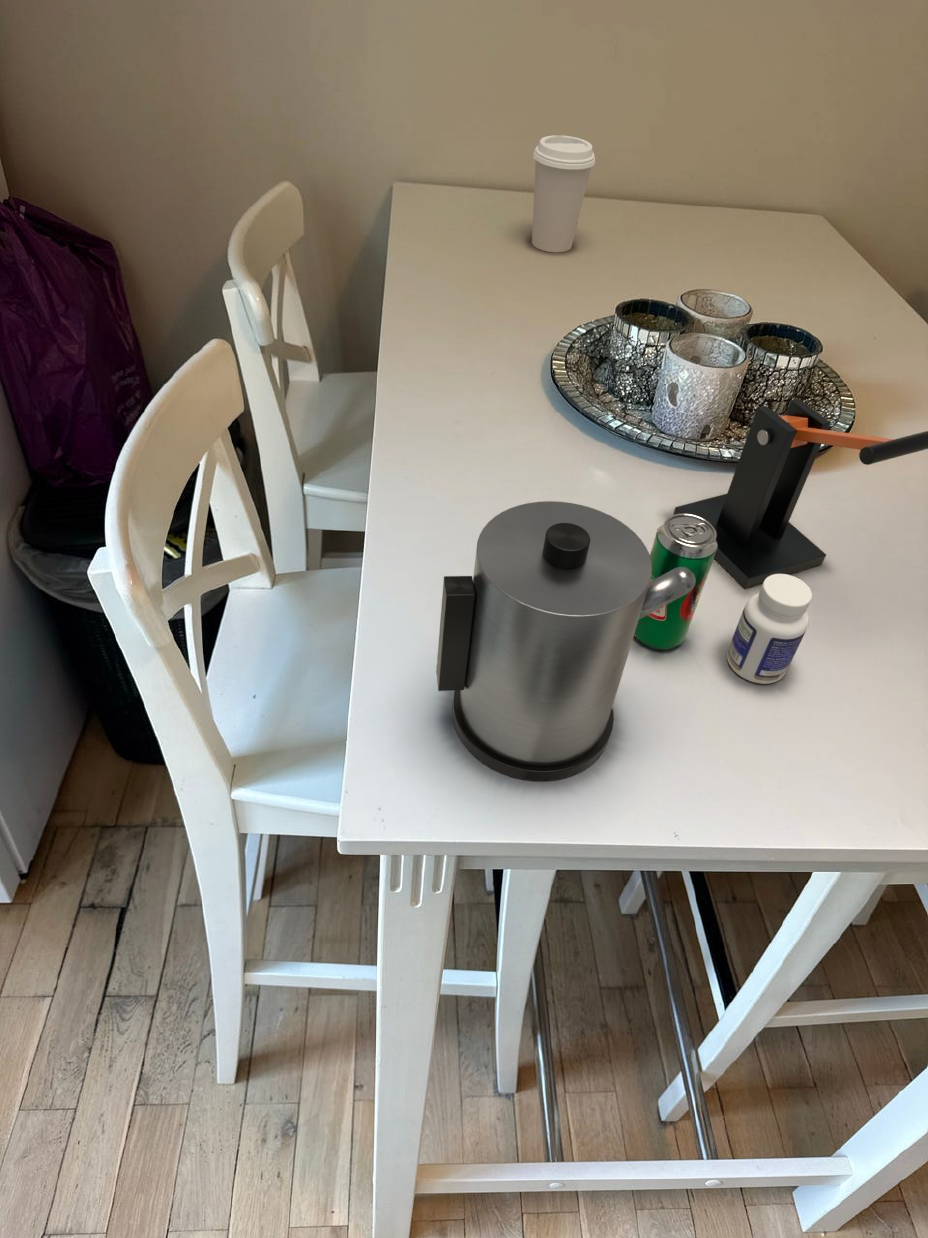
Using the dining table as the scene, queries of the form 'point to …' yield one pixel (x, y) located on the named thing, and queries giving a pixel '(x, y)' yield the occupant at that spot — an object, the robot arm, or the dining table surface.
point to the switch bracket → (764, 501)
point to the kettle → (545, 635)
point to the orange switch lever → (858, 441)
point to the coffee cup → (559, 190)
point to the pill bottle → (770, 629)
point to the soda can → (673, 547)
